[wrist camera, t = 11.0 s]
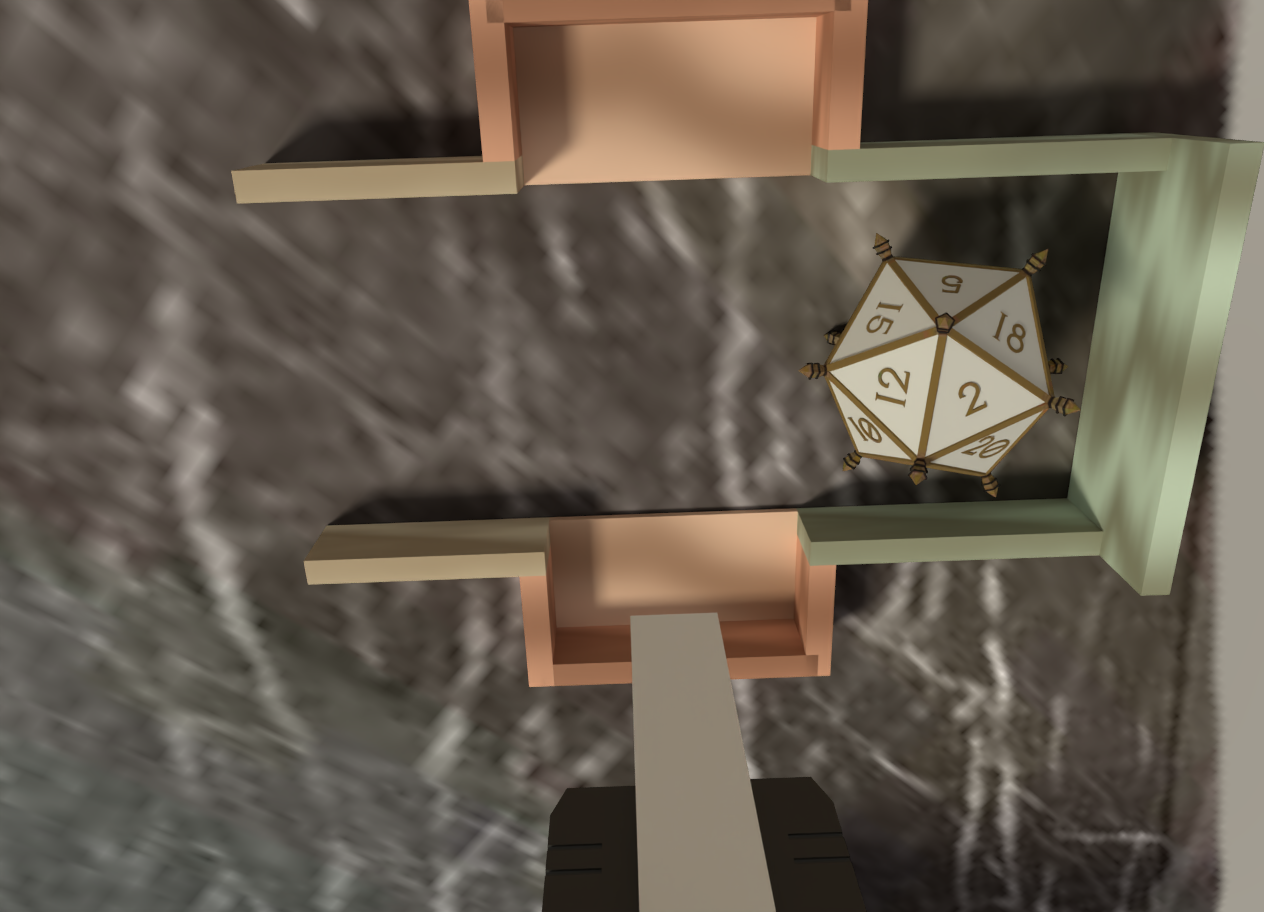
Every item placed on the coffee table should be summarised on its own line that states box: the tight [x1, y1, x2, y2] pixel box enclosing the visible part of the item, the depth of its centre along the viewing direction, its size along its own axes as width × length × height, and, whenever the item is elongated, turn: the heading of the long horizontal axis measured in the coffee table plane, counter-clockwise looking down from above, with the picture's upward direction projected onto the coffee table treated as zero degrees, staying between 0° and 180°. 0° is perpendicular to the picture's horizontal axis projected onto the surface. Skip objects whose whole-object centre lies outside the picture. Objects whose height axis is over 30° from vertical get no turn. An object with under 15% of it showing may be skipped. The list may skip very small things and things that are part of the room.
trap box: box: [231, 0, 1264, 687], centre depth 32 cm, size 25×31×6 cm
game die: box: [798, 233, 1081, 497], centre depth 31 cm, size 9×8×10 cm
